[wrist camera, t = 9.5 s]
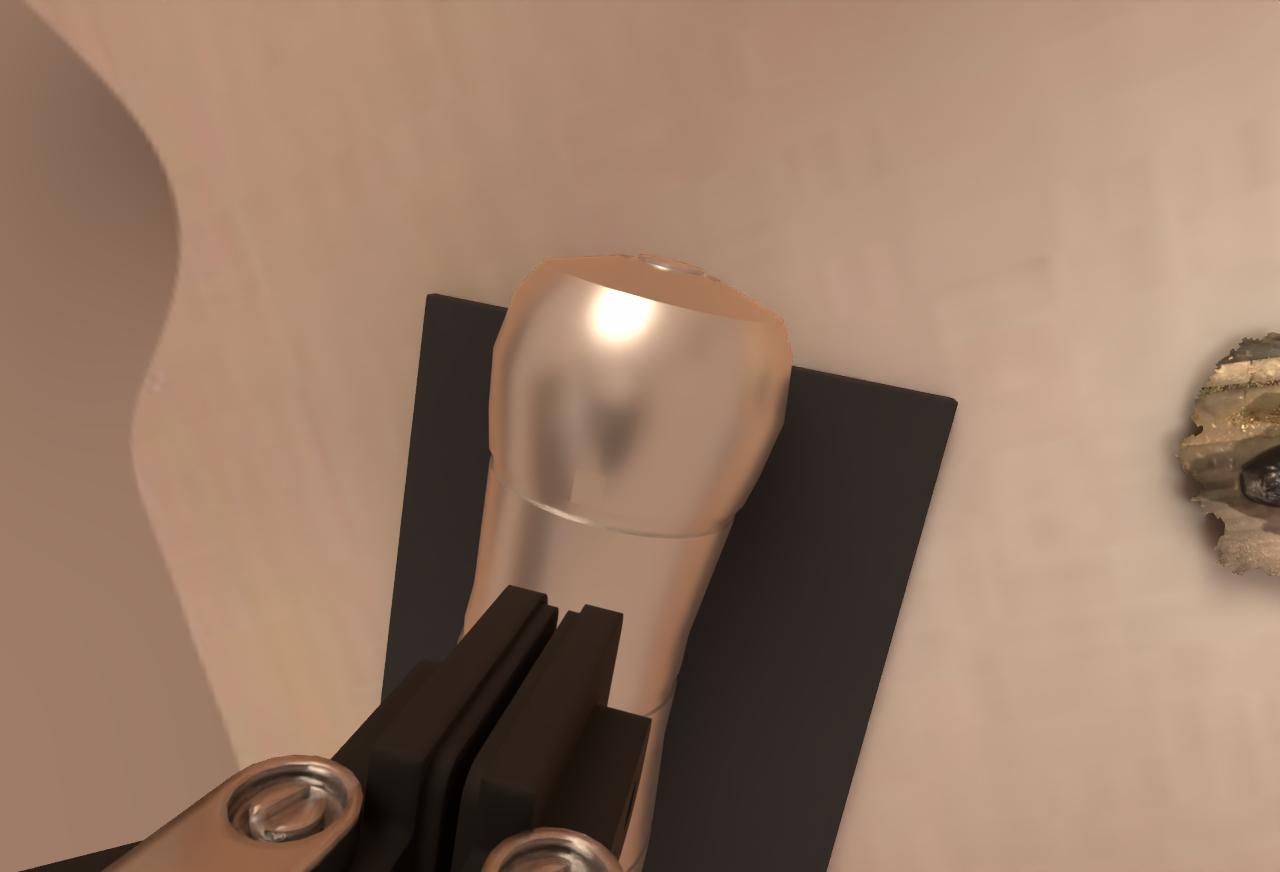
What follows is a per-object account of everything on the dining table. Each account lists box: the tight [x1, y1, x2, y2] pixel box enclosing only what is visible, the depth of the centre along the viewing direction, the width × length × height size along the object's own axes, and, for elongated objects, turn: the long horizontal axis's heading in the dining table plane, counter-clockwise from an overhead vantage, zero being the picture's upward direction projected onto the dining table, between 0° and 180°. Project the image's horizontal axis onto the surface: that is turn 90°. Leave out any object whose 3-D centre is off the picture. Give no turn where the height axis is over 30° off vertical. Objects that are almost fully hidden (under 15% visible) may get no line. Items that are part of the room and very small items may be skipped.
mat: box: [381, 294, 958, 872], centre depth 24 cm, size 20×14×1 cm
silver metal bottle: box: [457, 254, 793, 872], centre depth 20 cm, size 6×7×20 cm
